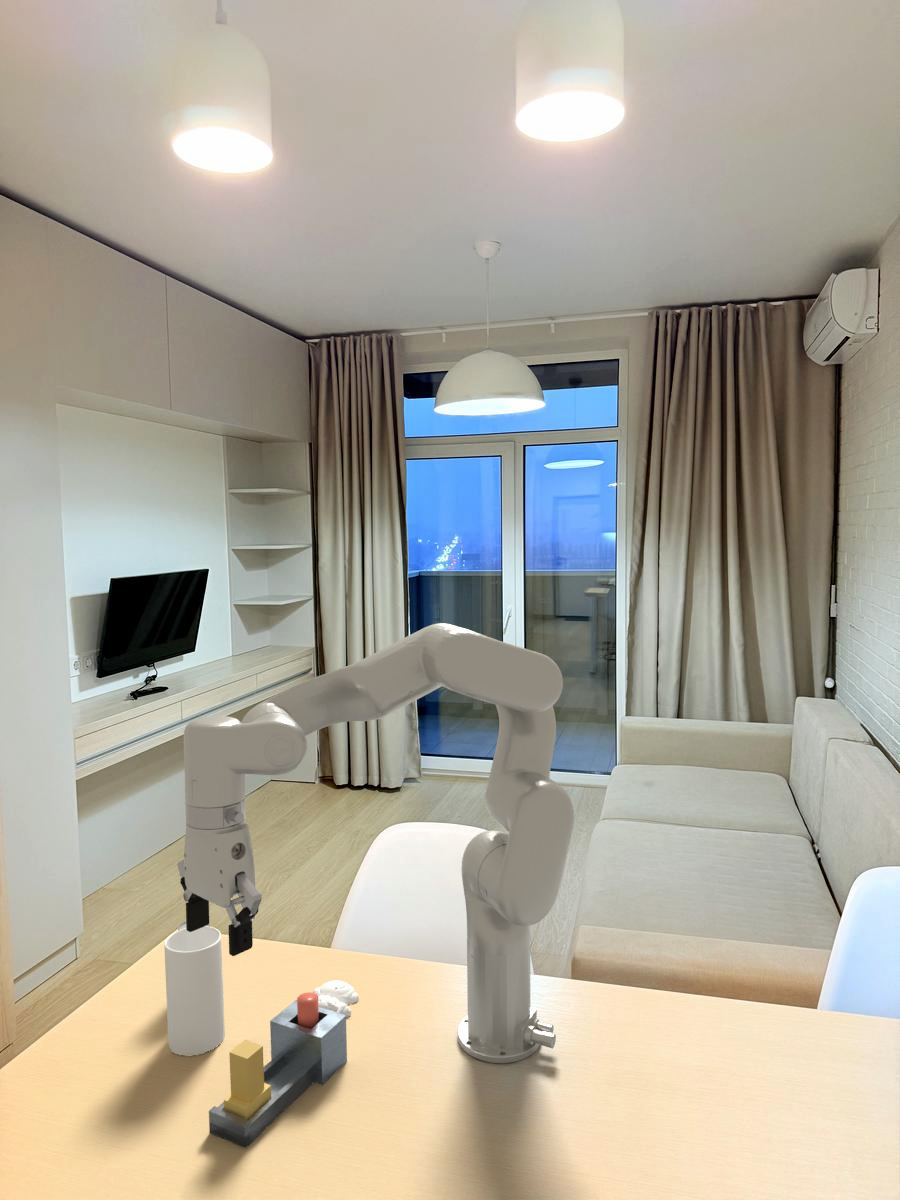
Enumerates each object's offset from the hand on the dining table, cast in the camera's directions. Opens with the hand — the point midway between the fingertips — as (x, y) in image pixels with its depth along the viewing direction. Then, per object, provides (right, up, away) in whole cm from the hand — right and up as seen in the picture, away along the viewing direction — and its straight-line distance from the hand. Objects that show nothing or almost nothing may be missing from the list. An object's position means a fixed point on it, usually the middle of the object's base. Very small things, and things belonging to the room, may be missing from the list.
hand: (218, 939), depth 110 cm
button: (+10, -17, +11) cm, 23 cm away
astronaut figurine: (+11, -22, +25) cm, 35 cm away
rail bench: (+7, -23, +5) cm, 25 cm away
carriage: (+4, -22, 0) cm, 22 cm away
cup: (-8, -23, +17) cm, 29 cm away
